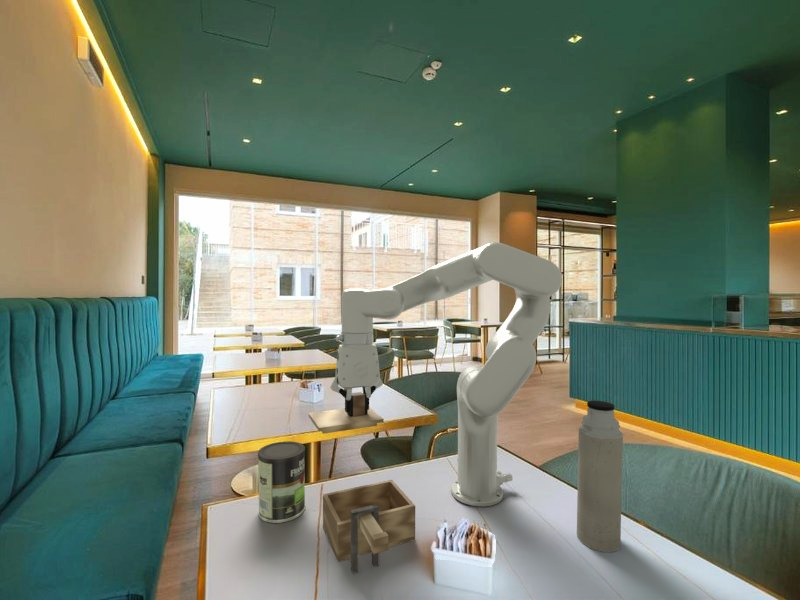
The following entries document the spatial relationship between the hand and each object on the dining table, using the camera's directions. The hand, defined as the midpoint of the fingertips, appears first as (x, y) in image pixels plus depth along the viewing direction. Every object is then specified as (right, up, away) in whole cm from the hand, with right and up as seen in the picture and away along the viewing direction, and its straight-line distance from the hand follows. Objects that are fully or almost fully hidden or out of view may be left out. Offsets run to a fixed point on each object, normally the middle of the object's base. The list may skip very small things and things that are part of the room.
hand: (357, 413), depth 99 cm
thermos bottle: (+51, -21, -17) cm, 57 cm away
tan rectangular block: (+5, -13, -28) cm, 32 cm away
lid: (-3, -2, -1) cm, 4 cm away
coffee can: (-16, -21, -7) cm, 27 cm away
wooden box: (+5, -21, -17) cm, 27 cm away
